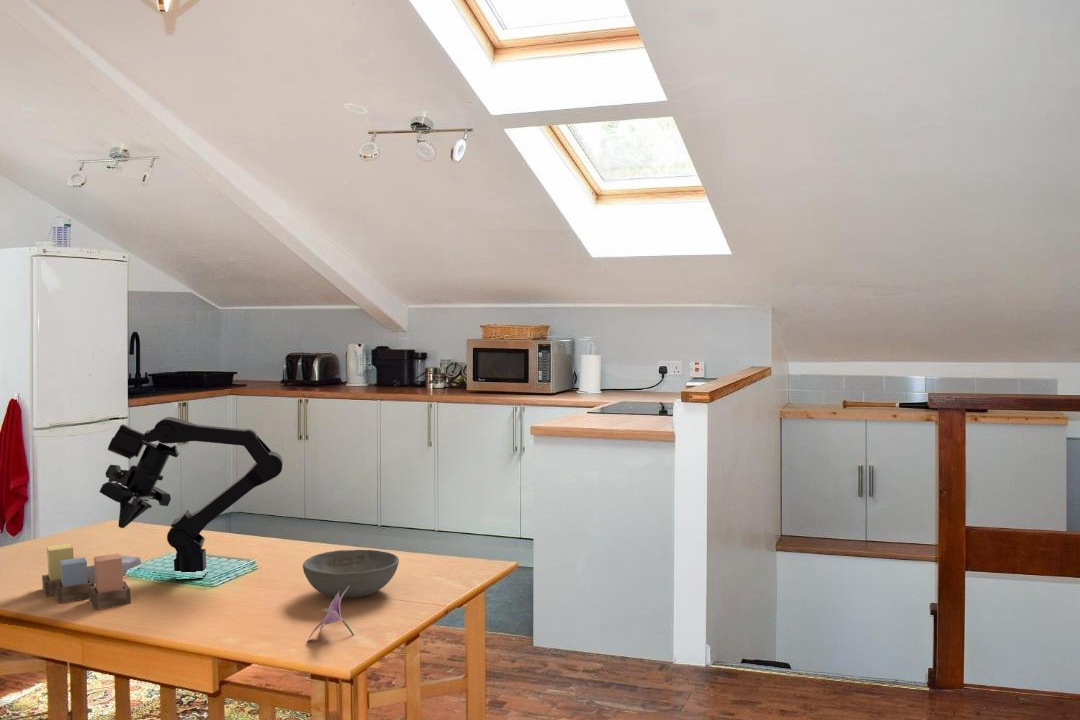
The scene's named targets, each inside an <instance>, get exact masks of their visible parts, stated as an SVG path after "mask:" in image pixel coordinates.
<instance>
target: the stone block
mask: <svg viewBox="0 0 1080 720" xmlns="http://www.w3.org/2000/svg"><path fill="white" fill-rule="evenodd" d="M120 556H121V558H122V571H123V577H125V576H127V575H126V572H127V570H128V569H130V568H133V567H135V566H138V565H140V564H141V565H142V561H141V557H140V556H131V555H120ZM87 575H88V576H91V578H92V580H93V582H95V567H94V564H92V565H87Z"/></svg>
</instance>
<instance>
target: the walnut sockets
mask: <svg viewBox="0 0 1080 720" xmlns="http://www.w3.org/2000/svg"><path fill="white" fill-rule="evenodd" d="M41 579H42V581H41V582H42V591H43V590H44V591H43V593H44V596H46V597H51V595H52V596H55V597H56V601H57V602H58V604H63V602H64V603H68V601H69V602H74V601H75V602H76V601H82V600H85V599H86V598H87V599H89V602H91V603H90V604H92V605H91V607H92V608H94V609H93V610H94V611H95V610H100V609H101V608H102V609H106V607H107V608H112V606H113V607H117V606H118V605H119V606H124V605H129V603H130V604H131V603H132V602H131V601H132V600H131V599H132V595H131V588H130V586H129V585H128V583H127V582H126V581H124V580H123V589H122V590H116V591H110V592H104V593H97V591H96V586H95V581H93V580H92V578H91V576H88V583H87V584H81V585H75V586H69V587H62V588H61V579H60V580H54V581H50V580H49V576H48V574H43V575H42V576H41ZM123 604H124V605H123ZM119 606H118V607H119Z"/></svg>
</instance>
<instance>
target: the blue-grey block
mask: <svg viewBox="0 0 1080 720" xmlns="http://www.w3.org/2000/svg"><path fill="white" fill-rule="evenodd" d="M87 567H88V562H87V560H86V558H85V557H84V556H82V557H75V558H74V559H67V560H61V561H60V571H61V588H62V587H69V586H75V585H81V584H87V583H88V575H87Z"/></svg>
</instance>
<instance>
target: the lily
mask: <svg viewBox="0 0 1080 720" xmlns="http://www.w3.org/2000/svg"><path fill="white" fill-rule="evenodd" d="M349 586H350V585H349ZM349 586H348V587H349ZM347 589H348V588H347ZM347 589H346V590H347ZM346 590H345V591H344V593H345V592H346ZM339 592H340V591H339ZM339 592H338V594H337V595H336V596H335V597H333V600H332V601H331V603H330V604H329V607H325V606H324V608H323V607H322V609H321V610H320V611H321V612H325V613H327V614H326V615H325V616H324V619H322V621H321V622H320V623H319V624H317V626H316V627H315V628H313V631H312V632H311V634H310V635H309V637H308V639H307V641H309V640H310V638H311V637H312V636H313V634H314V633H315V632H316V630H318V629H320V632H321V631H322V629H323V628H324V626H326V625H328V624H331V623H335V622H338V621H341V622H342V623H343V624H344V625H345V627H346V628H347V630H348V631H349V632H350V634H351V635H352V636H355V633H354V632H353V631H352V629H351V628H350V626H349V625H348V624H347V623H346V622H345V621H344V620H343V618H342V615H341V602H342V599H343V598H342V597H343V595H344V593H343V594H342V595H341V597H340V598H339Z"/></svg>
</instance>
